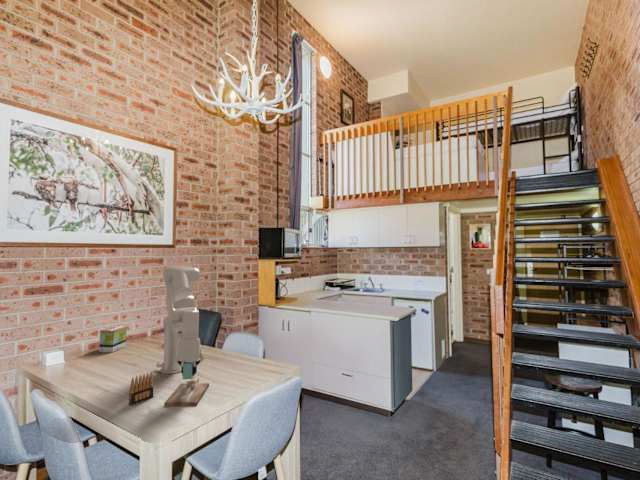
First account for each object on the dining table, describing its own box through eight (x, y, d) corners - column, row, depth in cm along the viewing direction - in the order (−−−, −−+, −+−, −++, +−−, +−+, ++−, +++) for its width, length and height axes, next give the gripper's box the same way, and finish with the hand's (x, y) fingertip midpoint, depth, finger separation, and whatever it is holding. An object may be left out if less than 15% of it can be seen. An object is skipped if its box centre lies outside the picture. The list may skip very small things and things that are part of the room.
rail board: (164, 406, 151) (164, 394, 151) (180, 386, 173) (181, 375, 173) (196, 405, 152) (197, 393, 152) (208, 386, 174) (209, 375, 174)
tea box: (113, 352, 227) (114, 330, 227) (98, 352, 227) (99, 330, 227) (126, 346, 242) (127, 325, 242) (112, 346, 242) (113, 325, 242)
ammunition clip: (151, 396, 161) (152, 370, 161) (153, 397, 160) (154, 371, 160) (128, 404, 152) (129, 377, 152) (130, 405, 151) (131, 378, 151)
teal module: (182, 379, 159) (183, 364, 160) (186, 374, 165) (187, 360, 166) (191, 379, 160) (191, 364, 160) (195, 374, 166) (195, 360, 166)
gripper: (169, 338, 159) (168, 377, 158) (205, 337, 160) (204, 377, 159) (174, 334, 166) (173, 372, 166) (209, 334, 167) (208, 371, 167)
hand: (188, 374), depth 162 cm, fingers closed on teal module, 4 cm apart
